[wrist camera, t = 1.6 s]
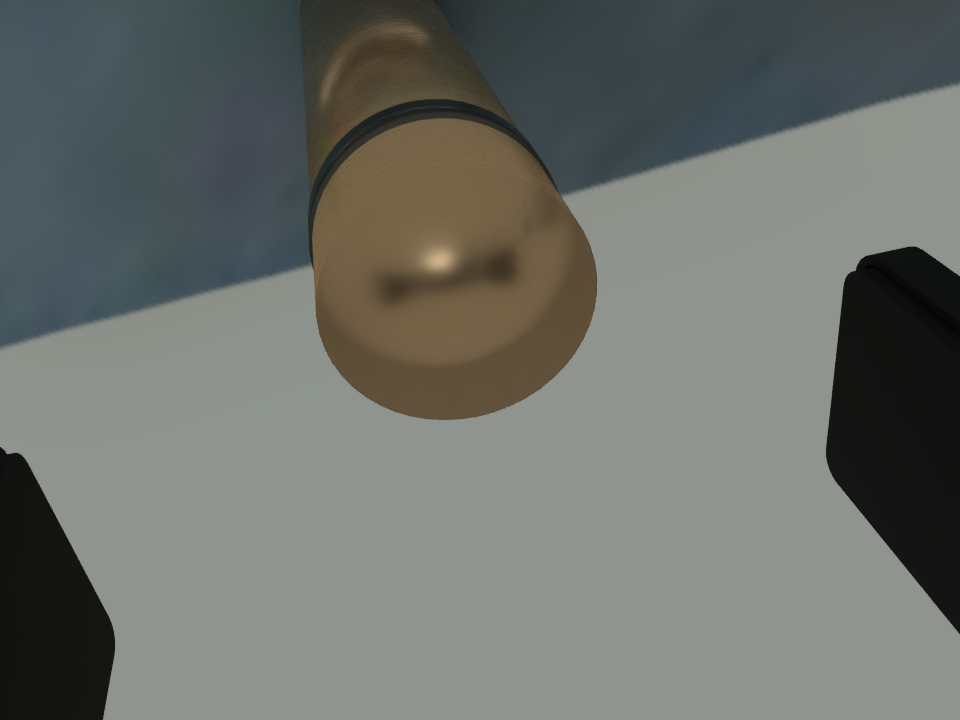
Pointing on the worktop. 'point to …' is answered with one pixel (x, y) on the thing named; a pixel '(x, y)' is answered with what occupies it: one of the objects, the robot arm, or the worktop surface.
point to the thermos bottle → (431, 219)
